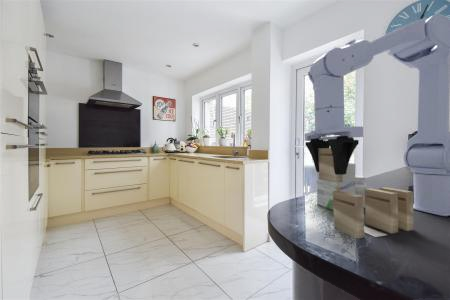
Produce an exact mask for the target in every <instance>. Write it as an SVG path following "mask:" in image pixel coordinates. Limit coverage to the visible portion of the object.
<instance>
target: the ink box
mask: <svg viewBox="0 0 450 300" xmlns="http://www.w3.org/2000/svg"><path fill="white" fill-rule="evenodd" d="M316 173H317V174H316V184H317V185H316V204H317V205H319V206H321V207H324V208H326V209H329V210H331V211H333V191H343V192H347V193H352V194H355V176H356V163H354V162H353V163H352V162H351V163H350V162H349V164H348V167H347V171H346V174H343V182H337V183H336V182H331V181H325V180H320V179H319V172H316Z"/></svg>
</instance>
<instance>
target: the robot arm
mask: <svg viewBox="0 0 450 300" xmlns="http://www.w3.org/2000/svg"><path fill="white" fill-rule="evenodd" d="M384 52H386V53H387V54H388V56H392V57H393V58H394V59H395V60H397V61H398V62H400V63H402V64H404V66H406V67H409V68H412V69H417V70H418V98H417V99H418V101H417V103H418V104H417V107H418V108H417V133H416V134H415V135H413V136H412V137H411V138H409V139H408V140H407V141H406V143H407V144H406V149H405V151H404V154H403V161H404V164H405V166H406V167H407V168H408V169H409V172H410V173H413V176H412V177H413V179H412V180H413V210H415V211H420V212H424V213H429V214H433V215H436V216H441V217H448V216H450V18H449V17H448V16H446V15H444V14H443V13H435V14H433V15H431V16H430V17H429V18H428V17H423V18H419V19H418V20H414V21H413V22H410V23H407V24H405V25H403V26H400V27H398V28H396V29H394V30H392V31H389V32H388V33H386V34H383V35H382V36H379V37H377V38H376V39H374V40H371V41H369V40H367V39H359V40H357V41H356V39H355V38H353V39H352V40H350V41H348V42H346V43H345V46H343V47H333V48H332V49H330V50H328V51H327V52H326V53H324V54H323V55H322V56H320V57H318V58H317V59H316V60H315V61H313V63H312V64H311V65H310V68H309V71H308V72H307V76H308V79H309V80H310V82H311V84H312V89H313V92H314V93H313V94H314V101H313V102H314V129H313V130H310V131H309V132H305V133H304V142H305V147H306V148H307V149H308V151H309V154H310V155H311V158H312V162H313V165H314V168H315V171H316V173H317V172H319V151H318V148H331V151H332V155H333V164H334V172H335V174H336V175H343V174H346V171H347V167H348V164H349V163H350V161H351V158H352V155H353V153H354V151H355V150H356V148H357V146H358V145H359V141H360V140H359V139H355V138H364V126H355V125H354V126H348V127H347V126H345V125H346V124H345V121H346V120H345V94H344V93H345V86H344V85H345V82H344V81H345V80H344V79H345V78H344V77H345V76H347V75H348V74H350V73H353V72H355V71H357V70H359V69H361V68H364V67H366V66H368V65H370V63H371V62H372V60H373V59H374V57H375V56H377V55H379V54H382V53H384Z"/></svg>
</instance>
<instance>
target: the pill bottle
mask: <svg viewBox="0 0 450 300" xmlns="http://www.w3.org/2000/svg"><path fill="white" fill-rule="evenodd" d="M365 183H366V177H365V176H364V175H355V194H356V195H361V196H363V209H364V208H365V189H368V186H367V184H365Z"/></svg>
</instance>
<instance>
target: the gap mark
mask: <svg viewBox="0 0 450 300" xmlns="http://www.w3.org/2000/svg"><path fill="white" fill-rule="evenodd" d="M364 233H365V234H367V235H369V236H371V237H374V238H378V237H379V238H380V237H385V236H387V233H384V232H382V231H378V230H375V229H373V228H370V227H368V226H365V225H364Z"/></svg>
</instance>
